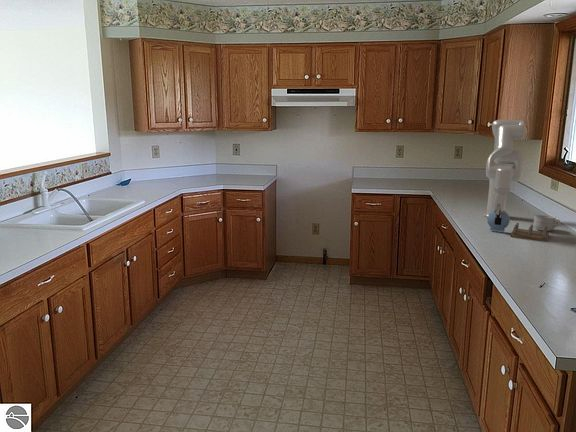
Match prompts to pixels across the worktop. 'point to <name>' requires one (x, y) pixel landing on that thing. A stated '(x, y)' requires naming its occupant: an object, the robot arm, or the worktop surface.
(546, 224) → the teacup
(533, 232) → the dish rack
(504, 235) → the worktop surface
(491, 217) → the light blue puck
